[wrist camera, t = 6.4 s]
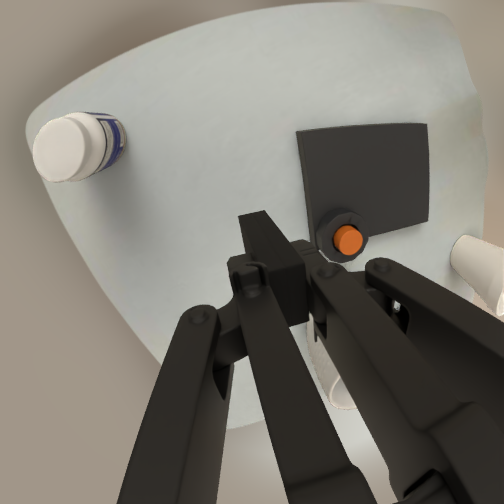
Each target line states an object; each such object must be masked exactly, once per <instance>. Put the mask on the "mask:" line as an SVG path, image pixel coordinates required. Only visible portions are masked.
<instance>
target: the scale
mask: <svg viewBox="0 0 504 504" xmlns="http://www.w3.org/2000/svg"><path fill="white" fill-rule="evenodd" d="M296 135H297V141H298V147H299V154H300V160H301V167H302V175H303V182H304V190H305V197H306V206H307V214H308V223H309V232H310V242H311V244H312V245H313V246H314V247H315V248H316V249H317V250H321V251H322V252H323V253H324V254H325V256H326V257H327V258H328V259H329V260H331V261H334V262H338V263H344V262H348V261H352V260H354V259H355V258H356V257H357V256H358V255H359V254H361V253H362V252H363V250H364V248H365V246H366V244H367V241H368V237H371V236H374V235H378V234H382V233H386V232H390V231H394V230H397V229H401V228H405V227H409V226H412V225H416V224H420V223H424V222H427V221H428V214H429V146H428V131H427V124H424V123H388V124H367V125H352V126H340V127H330V128H320V129H312V130H303V131H297V132H296ZM345 225H349V226H352V227H353V228H355V229H356V230H357V231H359V232H360V233H361V235H362V238H363V242H362V246H361V248H360V249H359V250H358V251H357V252H356V253H354V254H352V255H345V254H343V253H342V252H341V251H340V250H339V249H338V248H337V247H335V244H334V235H335V233H336V231H337V230H338V229H339V228H340V227H342V226H345Z"/></svg>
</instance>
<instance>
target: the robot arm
mask: <svg viewBox="0 0 504 504" xmlns="http://www.w3.org/2000/svg"><path fill="white" fill-rule="evenodd" d="M238 218H239V223H240V228H241V233H242V238H243V243H244V247H245V252H246V254H242V255H238V256H233V257H230V258H229V260H228V262H227V266H228V271H229V278H230V282H231V286H232V290H233V298H232V299H231V301H230V302H229V303H228V304H226V305H225V306H223V307H221V308H219V309H217V310H216V309H215V307H213V306H210V305H198V306H194V307H192V308H189V309H188V310H186V311H185V312H184V313H183V314H182V316H181V317H180V319H179V322H178V325H177V327H176V330H175V332H174V335H173V337H172V340H171V343H170V345H169V348H168V351H167V353H166V356H165V359H164V361H163V364H162V367H161V369H160V372H159V375H158V378H157V381H156V383H155V386H154V389H153V391H152V394H151V397H150V400H149V403H148V406H147V409H146V411H145V414H144V417H143V420H142V423H141V426H140V429H139V432H138V435H137V439H136V441H135V444H134V448H133V451H132V454H131V457H130V460H129V463H128V467H127V470H126V473H125V477H124V480H123V483H122V487H121V490H120V494H119V498H118V501H117V504H216V500H217V493H218V485H219V478H220V470H221V463H222V455H223V447H224V440H225V432H226V425H227V418H228V410H229V403H230V395H231V388H232V380H233V373H234V362H236V361H238V360H240V359H242V358H244V357H246V356H249V360H250V364H251V368H252V372H253V376H254V379H255V383H256V387H257V391H258V395H259V399H260V402H261V406H262V410H263V413H264V417H265V421H266V424H267V428H268V432H269V435H270V439H271V443H272V446H273V450H274V453H275V457H276V460H277V464H278V467H279V470H280V474H281V477H282V481H283V484H284V488H285V492H286V495H287V499H288V502H289V504H377V502H376V500H375V498H374V495H373V493H372V491H371V489H370V487H369V485H368V483H367V481H366V479H365V477H364V475H363V473H362V472H361V471H360V469H359V468H358V467H356V466H355V465H353V464H352V463H351V461H350V460H349V458H348V456H347V454H346V452H345V449H344V447H343V445H342V443H341V441H340V438H339V436H338V434H337V432H336V430H335V427H334V425H333V423H332V421H331V419H330V416H329V414H328V412H327V410H326V408H325V405H324V403H323V401H322V399H321V397H320V394H319V392H318V390H317V388H316V386H315V383H314V381H313V379H312V377H311V375H310V372H309V370H308V368H307V366H306V364H305V361H304V359H303V357H302V355H301V353H300V350H299V348H298V346H297V344H296V342H295V339H294V337H293V335H292V333H291V331H290V329H289V327H291V326H294V325H298V324H301V323H305V322H308V321H310V319H309V311H310V313H311V315H312V317H313V327H314V341H315V342H317V336H318V337H319V338H320V340H321V342H322V344H323V346H324V347H325V349H326V351H327V353H328V355H329V357H330V358H331V360H332V362H333V364H334V366H335V368H336V369H337V371H338V373H339V375H340V377H341V379H342V381H343V382H344V384H345V386H346V388H347V390H348V392H349V394H350V395H351V397H352V399H353V401H354V403H355V405H356V407H357V409H358V410H359V412H360V414H361V416H362V418H363V420H364V422H365V424H366V426H367V427H368V429H369V431H370V433H371V435H372V437H373V439H374V441H375V443H376V445H377V447H378V449H379V451H380V452H381V454H382V456H383V458H384V460H385V462H386V464H387V466H388V469H389V480H390V485H391V487H392V489H393V491H394V494H395V496H396V498H397V500H398V502H397V503H393V504H504V323H503V322H501V321H500V320H499V319H497V318H495V317H494V316H492V315H490V314H489V313H487V312H485V311H484V310H482V309H481V308H479V307H477V306H475V305H474V304H472V303H470V302H469V301H467V300H465V299H463V298H462V297H460V296H458V295H456V294H455V293H453V292H451V291H449V290H448V289H446V288H444V287H442V286H440V285H439V284H437V283H435V282H433V281H431V280H429V279H428V278H426V277H424V276H422V275H420V274H418V273H416V272H414V271H413V270H411V269H409V268H407V267H405V266H403V265H401V264H399V263H397V262H395V261H393V260H391V259H388V258H382V257H380V258H374V259H371V260H369V261H368V262H367V263H366V265H365V271H358V272H348V271H347V270H346V269H345V268H344V267H343V266H341V265H340V264H337V263H333V262H328V261H327V260H326V259H325V258H324V257H323V256H322V254H321V253H320V252H319V251H318V250H317V249H316V248H315V247H314V246H313V245H312V244H311V243H310V242H308V241H306V240H303V239H302V240H297V241H293V242H289V241H288V240H287V238H286V237H285V236H284V235H283V233H282V232H281V231H280V229H279V228H278V227H277V226H276V224H275V223H274V222H273V220H272V219H271V218H270V217H269V215H268V214H267V213H266V212H265V210H263V211H258V212H254V213H249V214H245V215H240V216H238ZM395 301H397V302H398V303H400V304H401V305H400V310H399V311H398V310H396V309H395V308H394V303H395Z"/></svg>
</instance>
